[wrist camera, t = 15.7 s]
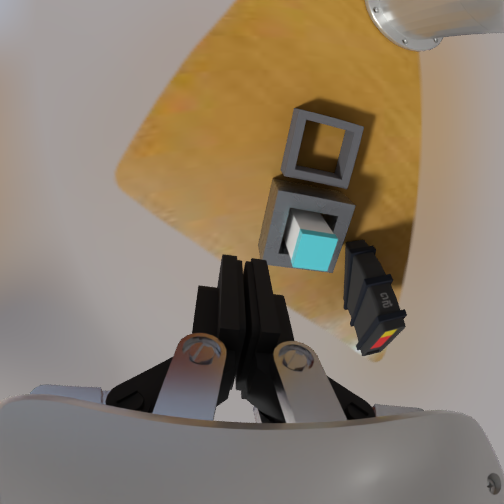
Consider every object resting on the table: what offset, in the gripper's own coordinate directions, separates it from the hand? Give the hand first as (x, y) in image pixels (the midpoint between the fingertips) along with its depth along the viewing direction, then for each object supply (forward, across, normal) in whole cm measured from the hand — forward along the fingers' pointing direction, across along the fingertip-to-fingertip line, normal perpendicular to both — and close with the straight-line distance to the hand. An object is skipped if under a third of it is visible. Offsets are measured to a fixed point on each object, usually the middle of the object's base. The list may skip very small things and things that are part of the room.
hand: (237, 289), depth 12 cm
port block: (+27, -10, +7) cm, 30 cm away
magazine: (+27, -21, +15) cm, 38 cm away
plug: (+27, -10, +7) cm, 30 cm away
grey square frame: (+27, -10, -3) cm, 29 cm away
